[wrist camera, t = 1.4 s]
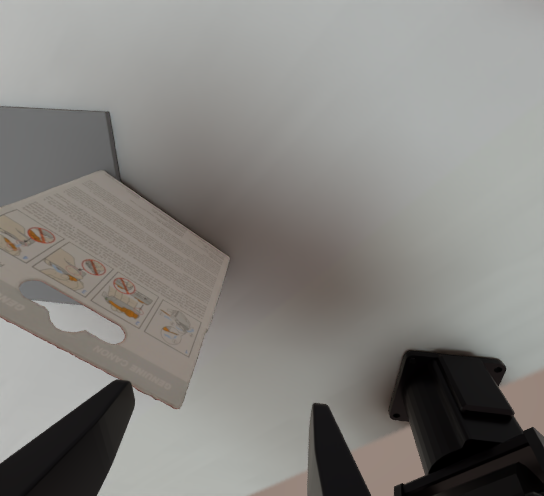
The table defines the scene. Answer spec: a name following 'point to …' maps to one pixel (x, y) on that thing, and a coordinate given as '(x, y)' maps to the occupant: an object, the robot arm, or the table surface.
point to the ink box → (114, 279)
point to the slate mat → (51, 161)
